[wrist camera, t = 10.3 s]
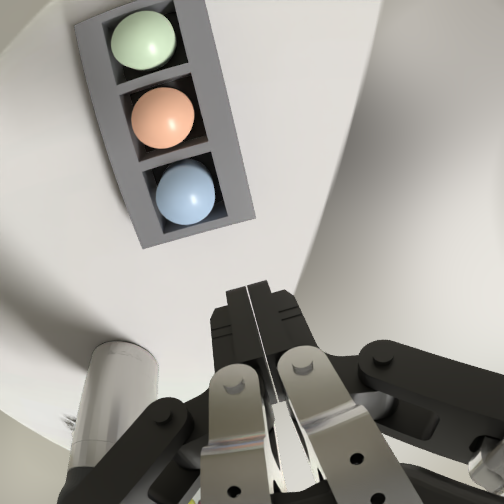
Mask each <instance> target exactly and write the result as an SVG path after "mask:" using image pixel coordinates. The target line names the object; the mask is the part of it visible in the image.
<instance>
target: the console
mask: <svg viewBox="0 0 504 504" xmlns="http://www.w3.org/2000/svg"><path fill="white" fill-rule="evenodd" d="M140 11H153V12H157V13H160V14H161V15H164V14H167V13H171V12H175V11H176V13H177V17H178V21H179V26H180V30H181V34H182V38H183V42H184V46H185V50H186V54H187V58H188V62H189V63H185V64H181V65H178V66H174V67H171V68H167V69H164V70H161V71H158V72H154V73H151V74H148V75H145V76H142V77H139V78H136V79H133V80H130V81H128V82H126V78H125V74H124V71H123V67H122V64H121V63H120V62H119V61H118V60H117V59H116V58H115V56H114V54H113V52H112V48H111V39H112V35H113V33H114V31H115V29H116V27H117V26H118V24H119V23H120V22H121V21H122V20H124V19H125V18H126V17H128V16H129V15H131V14H134V13H136V12H140ZM74 28H75V33H76V38H77V43H78V47H79V52H80V56H81V61H82V65H83V69H84V73H85V77H86V81H87V85H88V89H89V93H90V96H91V100H92V104H93V107H94V111H95V114H96V118H97V121H98V125H99V128H100V131H101V135H102V138H103V141H104V144H105V147H106V150H107V154H108V157H109V160H110V163H111V166H112V169H113V172H114V174H115V177H116V180H117V183H118V186H119V189H120V192H121V194H122V197H123V200H124V203H125V205H126V208H127V211H128V213H129V216H130V219H131V221H132V224H133V226H134V229H135V231H136V234H137V236H138V239H139V241H140V244H141V246H142V249H145V248H149V247H152V246H156V245H159V244H163V243H166V242H170V241H174V240H177V239H181V238H184V237H188V236H192V235H195V234H199V233H203V232H206V231H210V230H214V229H217V228H221V227H225V226H229V225H232V224H236V223H240V222H244V221H248V220H251V219H255V218H256V216H255V211H254V207H253V203H252V198H251V194H250V189H249V185H248V181H247V176H246V172H245V168H244V163H243V159H242V155H241V150H240V146H239V142H238V137H237V133H236V129H235V125H234V120H233V116H232V112H231V108H230V103H229V99H228V95H227V91H226V87H225V82H224V78H223V74H222V70H221V66H220V61H219V57H218V53H217V49H216V45H215V41H214V37H213V33H212V29H211V24H210V20H209V16H208V12H207V8H206V4H205V0H137V1H134V2H131V3H128V4H125V5H122V6H120V7H117V8H114V9H112V10H109V11H106V12H104V13H101V14H99V15H97V16H94V17H92V18H89V19H87V20H85V21H83V22H80V23H78V24H76V25H74ZM191 75H192V78H193V82H194V86H195V90H196V94H197V98H198V102H199V106H200V110H201V114H202V118H203V122H204V126H205V130H206V134H207V135H205V136H201V137H198V138H194V139H190V140H187V141H183V142H180V143H178V144H177V145H175V146H172V147H169V148H163V149H157V150H154V151H150V152H147V153H146V149H145V146H144V143H143V142H141V141H140V140H139V139H138V137H137V136H136V135H135V133H134V131H133V128H132V122H131V117H132V111H133V105H132V101H131V97H130V94H133V93H135V92H138V91H141V90H144V89H147V88H150V87H154V86H157V85H160V84H163V83H167V82H170V81H173V80H177V79H180V78H184V77H188V76H191ZM207 152H211V153H212V157H213V161H214V165H215V169H216V172H217V176H218V180H219V184H220V188H221V191H222V195H223V199H224V201H220V202H217V203H214V205H213V208H212V210H211V211H210V213H209V214H208V215H207V216H206V217H205V218H204V219H202V220H201V221H199V222H197V223H194V224H189V225H182V224H177V223H174V222H171V221H170V220H168V219H167V218H165V217H164V216H163V215H162V213H161V212H160V210H159V208H158V206H157V203H156V191H157V184H156V181H155V178H154V175H153V172H152V168H155V167H158V166H162V165H165V164H168V163H172V162H175V161H178V160H182V159H185V158H189V157H192V156H196V155H200V154H203V153H207Z"/></svg>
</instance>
